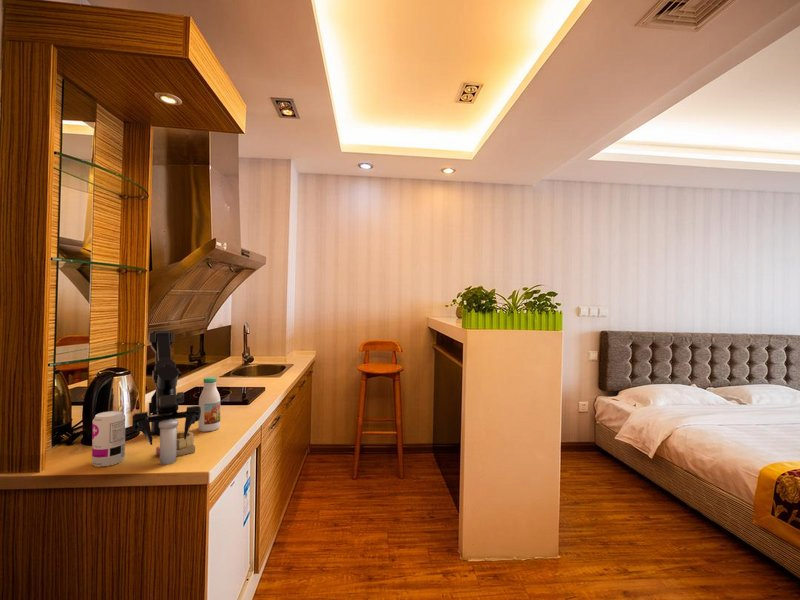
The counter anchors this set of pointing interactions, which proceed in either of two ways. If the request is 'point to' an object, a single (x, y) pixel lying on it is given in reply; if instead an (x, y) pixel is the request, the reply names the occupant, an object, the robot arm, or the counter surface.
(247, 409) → the counter surface
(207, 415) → the milk bottle
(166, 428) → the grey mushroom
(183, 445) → the valve body
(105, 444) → the supplement can
